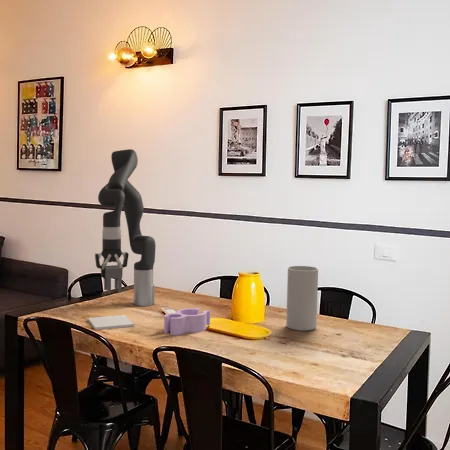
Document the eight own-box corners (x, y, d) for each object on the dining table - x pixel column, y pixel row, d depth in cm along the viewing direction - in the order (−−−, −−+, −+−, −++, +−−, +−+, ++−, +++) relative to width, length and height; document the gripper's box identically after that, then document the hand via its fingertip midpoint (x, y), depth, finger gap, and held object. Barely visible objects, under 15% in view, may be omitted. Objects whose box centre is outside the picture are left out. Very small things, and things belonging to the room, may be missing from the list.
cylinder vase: (292, 321, 246) (293, 264, 244) (320, 325, 240) (321, 267, 238) (282, 328, 235) (283, 269, 232) (311, 332, 229) (313, 271, 227)
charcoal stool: (107, 268, 228) (103, 265, 235) (107, 293, 229) (103, 289, 236) (122, 268, 231) (117, 265, 238) (122, 292, 231) (117, 288, 239)
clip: (178, 337, 220) (178, 320, 219) (157, 331, 229) (157, 314, 228) (214, 328, 234) (214, 311, 234) (194, 322, 243) (194, 306, 242)
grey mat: (125, 317, 249) (125, 314, 249) (134, 326, 235) (134, 323, 235) (88, 320, 243) (88, 317, 243) (95, 329, 228) (95, 327, 228)
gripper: (126, 236, 240) (126, 275, 241) (92, 237, 234) (92, 277, 236) (131, 238, 233) (130, 278, 235) (95, 239, 227) (95, 280, 229)
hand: (111, 277), depth 235 cm, fingers closed on charcoal stool, 6 cm apart
